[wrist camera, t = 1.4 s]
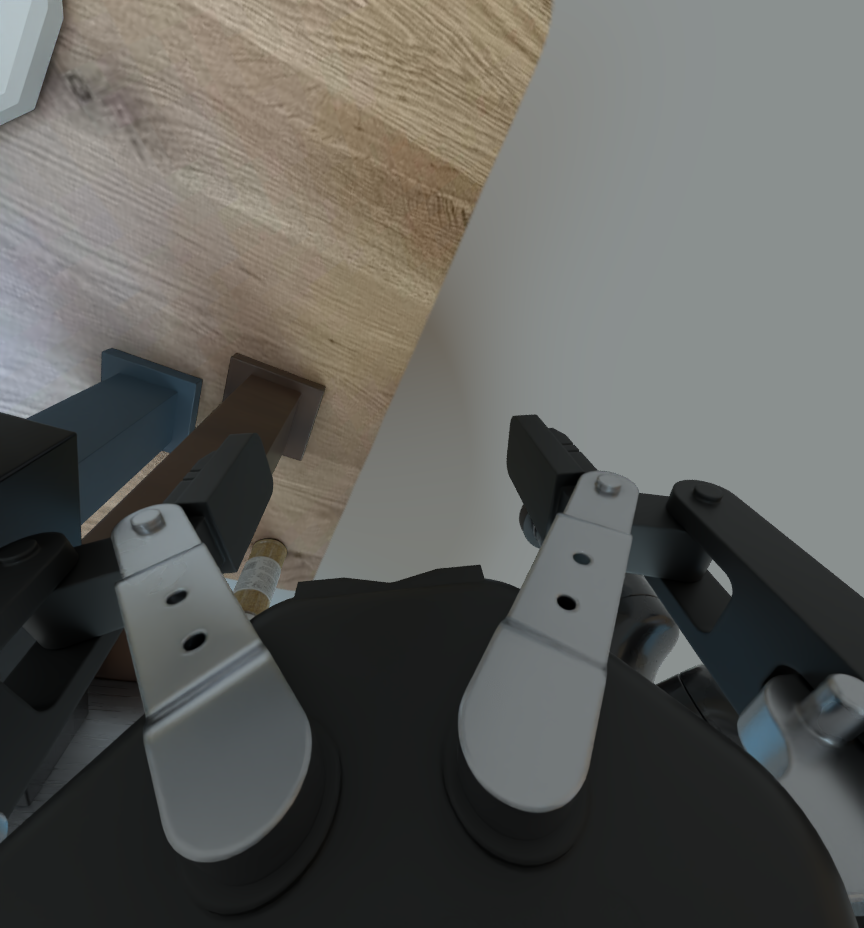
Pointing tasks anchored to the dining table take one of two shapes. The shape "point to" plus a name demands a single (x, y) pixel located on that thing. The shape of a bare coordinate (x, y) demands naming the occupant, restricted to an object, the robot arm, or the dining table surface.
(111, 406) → the low stand
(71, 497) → the mallet
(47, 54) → the decorative plate
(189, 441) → the tall stand
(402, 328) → the dining table surface
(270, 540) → the sprinkles bottle
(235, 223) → the dining table surface
